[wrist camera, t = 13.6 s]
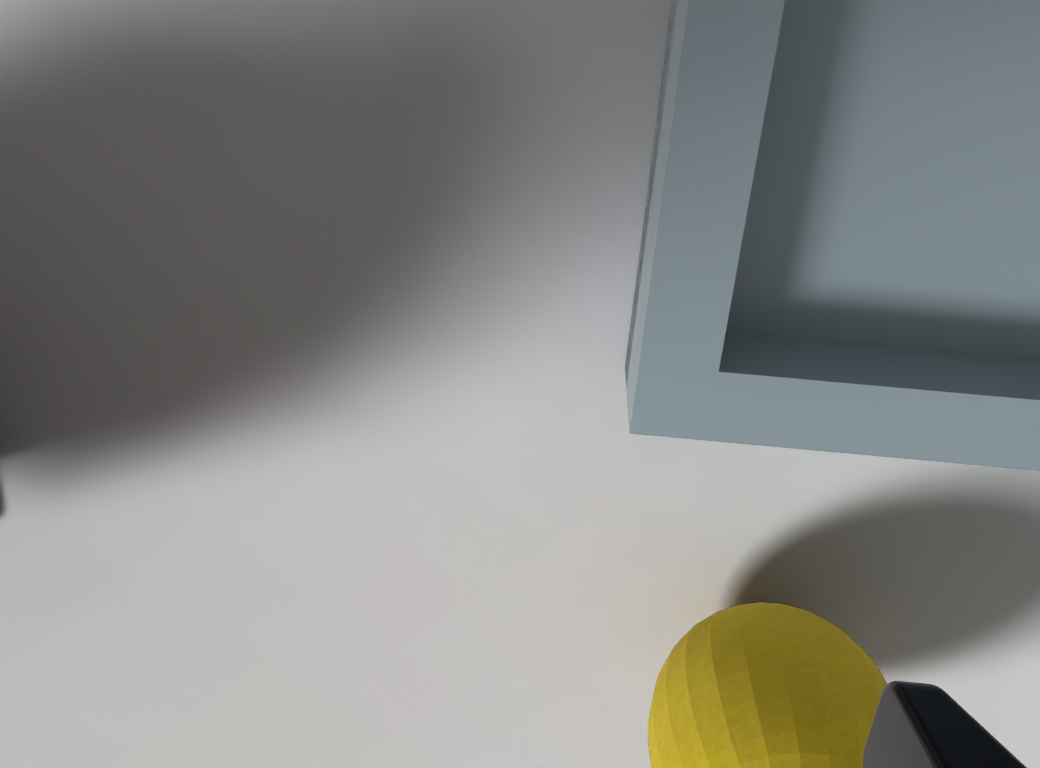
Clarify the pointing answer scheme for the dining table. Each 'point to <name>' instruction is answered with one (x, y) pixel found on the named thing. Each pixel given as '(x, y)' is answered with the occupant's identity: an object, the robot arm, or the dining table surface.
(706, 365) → the slate tray
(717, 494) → the dining table surface
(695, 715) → the lemon
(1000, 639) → the dining table surface
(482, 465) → the dining table surface
